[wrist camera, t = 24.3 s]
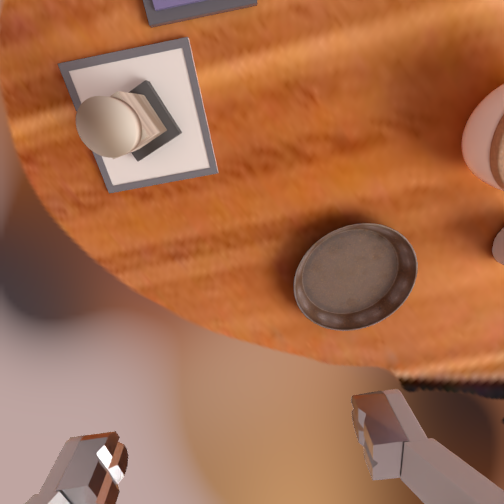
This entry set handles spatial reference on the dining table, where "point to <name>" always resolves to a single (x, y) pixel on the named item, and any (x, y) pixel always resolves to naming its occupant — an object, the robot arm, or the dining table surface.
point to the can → (499, 247)
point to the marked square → (172, 95)
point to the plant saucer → (355, 276)
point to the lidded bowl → (486, 139)
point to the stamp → (126, 123)
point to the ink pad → (189, 9)
